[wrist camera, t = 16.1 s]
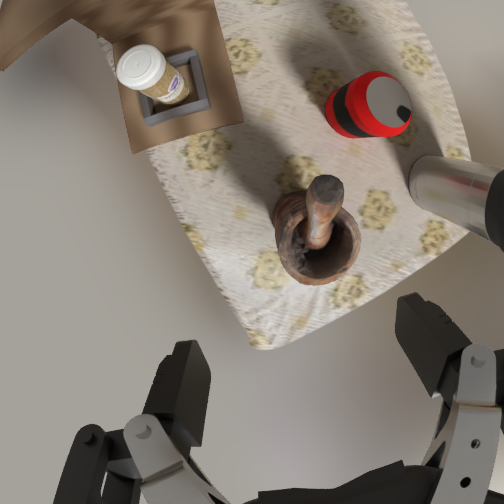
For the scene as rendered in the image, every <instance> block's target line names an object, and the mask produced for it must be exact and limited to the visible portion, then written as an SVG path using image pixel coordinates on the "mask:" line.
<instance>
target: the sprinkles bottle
mask: <svg viewBox="0 0 504 504" xmlns="http://www.w3.org/2000/svg"><path fill="white" fill-rule="evenodd" d="M116 74H117V78H118V80H119V81H120V82H121V83H122V84H123V85H125V86H127V87H129V88H131V89H134V90H139V91H140V92H141V93H143V94H145V95H147V96H149V97H151V98H153V99H155V100H157V101H161V102H162V103H163V104H164V105H167V106H175V105H178V104H180V103H182V102H183V101H184V100H185V99H186V97H187V96H188V94H189V84H188V82H187V81H186V79H184V78H183V77H182V76H181V75H180V73H179V72H178V71H177V70H176V69H175V68H174V67H173V66H171V65H170V64H169V63H168V62H167V61H166V60H165V58H164V56H163V54H162V53H161V52H160V51H159V50H158V49H157V48H156V47H154V46H152V45H148V44H142V45H137V46H134V47H132V48H131V49H129V50H128V51H126V52H125V53H124V54H123V55H122V57H121V58H120V60H119V62H118V64H117V68H116Z"/></svg>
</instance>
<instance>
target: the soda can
mask: <svg viewBox="0 0 504 504" xmlns="http://www.w3.org/2000/svg"><path fill="white" fill-rule="evenodd" d="M411 115H412V104H411V99H410V97H409V94H408V93H407V91H406V89H405V88H404V87H403V86H402V84H401V83H400V82H399V81H398V80H397V79H395V78H394V77H392V76H391V75H389V74H386V73H383V72H379V71H373V72H368V73H366V74H364V75H362V76H360V77H358V78H357V79H355V80H353V81H351V82H350V83H348V84H346V85H345V86H343V87H341V88H340V89H338V90H336V91H335V92H333V93H332V94H331V95H330V97H329V98H328V100H327V103H326V116H327V119H328V122H329V123H330V125H331V127H332V128H333V129H334V130H335V131H336V132H337V133H339V134H340V135H342V136H344V137H348V138H366V137H389V136H396V135H399V134H400V133H402V132H403V131H404V130H405V129H406V128H407V126H408V125H409V123H410V120H411Z"/></svg>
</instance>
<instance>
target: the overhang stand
mask: <svg viewBox="0 0 504 504" xmlns="http://www.w3.org/2000/svg"><path fill="white" fill-rule="evenodd" d="M71 18H73V19H75V20H76V21H78V22H79V23H81V24H83V25H84V26H86V27H87V28H89V29H91V30H92V31H94V32H95V33H97V34H98V35H100V36H101V37H103V38H104V39H106V40H107V41H109V42H110V43H112V44H113V52H114V60H115V67H116V68H117V64H118V62H119V60H120V58H121V57H122V55H123V54H124V53H125V52H126V51H128V50H129V49H131V48H132V47H134V46H137V45H142V44H148V45H152V46H154V47H156V48H157V49H158V50H159V51H160V52H161V53H162V54H163V56H164V58H165V60H166V61H167V62H168V63H169V64H170V65H171V66H173V67H174V68H175V69H176V70H177V71H178V72H179V73H180V75H181V76H182V77H183V78H184V79H186V81H187V82H188V84H189V94H188V96H187V97H186V99H185V100H184V101H183V102H182V103H180V104H178V105H175V106H167V105H164V104H163V103H162V102H161V101H157V100H155V99H153V98H151V97H149V96H147V95H145V94H143V93H141V92H140V91H139V90H134V89H131V88H129V87H127V86H125V85H123V84H122V83H121V82H120V81H119V80H118V78H117V80H118V86H119V92H120V98H121V103H122V109H123V113H124V119H125V123H126V128H127V133H128V137H129V142H130V146H131V150H132V153H133V154H135V153H138V152H140V151H143V150H146V149H149V148H152V147H155V146H158V145H161V144H164V143H167V142H170V141H173V140H176V139H179V138H183V137H186V136H190V135H193V134H197V133H200V132H204V131H208V130H211V129H215V128H219V127H223V126H227V125H232V124H236V123H241V122H244V119H243V114H242V110H241V106H240V102H239V98H238V94H237V90H236V86H235V82H234V77H233V73H232V69H231V66H230V62H229V58H228V54H227V50H226V46H225V42H224V38H223V34H222V31H221V27H220V23H219V19H218V16H217V12H216V8H215V4H214V0H3V1H2V5H1V9H0V71H4V70H5V69H6V68H7V67H8V66H10V65H11V64H12V63H13V62H14V61H15V60H16V59H17V58H18V57H19V56H21V55H22V54H23V53H24V52H25V51H27V50H28V49H29V48H30V47H31V46H33V45H34V44H35V43H36V42H38V41H39V40H40V39H42V38H43V37H44V36H46V35H47V34H48V33H50V32H51V31H53V30H54V29H56V28H57V27H58V26H60V25H61V24H63V23H64V22H66V21H67V20H69V19H71Z"/></svg>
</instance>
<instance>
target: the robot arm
mask: <svg viewBox="0 0 504 504" xmlns="http://www.w3.org/2000/svg"><path fill="white" fill-rule="evenodd" d="M409 190H410V194H411V197H412V199H413V200H414V202H415V203H416V204H417V205H418V206H419V207H421V208H422V209H425V210H427V211H429V212H432V213H434V214H436V215H438V216H440V217H442V218H444V219H447V220H449V221H451V222H453V223H455V224H457V225H459V226H461V227H463V228H465V229H467V230H469V231H471V232H473V233H475V234H477V235H479V236H481V237H483V238H485V239H486V240H488V241H490V242H492V243H494V244H496V245H497V246H499V247H500V248H501V250H502V251H503V252H504V168H500V167H496V166H491V165H486V164H481V163H475V162H471V161H465V160H459V159H453V158H446V157H440V156H432V155H425V156H423V157H421V158H419V159H418V160H417V161H416V162H415V163H414V165H413V167H412V169H411V172H410V176H409ZM395 334H396V337H397V340H398V342H399V344H400V345H401V347H402V349H403V350H404V352H405V353H406V355H407V357H408V358H409V360H410V362H411V364H412V365H413V367H414V369H415V370H416V372H417V374H418V376H419V377H420V379H421V381H422V383H423V384H424V386H425V388H426V390H427V392H428V393H429V395H430V397H431V399H432V398H434V397H436V396H438V395H440V394H441V395H442V397H443V401H442V404H441V408H440V412H439V416H438V420H437V424H436V428H435V431H434V434H433V438H432V441H431V444H430V446H429V448H428V450H427V453H426V454H425V457H424V459H423V461H422V463H421V465H410V466H404V464H403V461H402V460H400V461H398V462H395V463H392V464H389V465H387V466H384V467H381V468H378V469H375V470H372V471H369V472H367V473H365V474H363V475H361V476H359V477H357V478H355V479H354V480H352V481H350V482H348V483H346V484H343V485H341V486H339V487H337V488H334V489H305V488H291V489H282V490H272V491H260V492H258V498H257V499H254V500H251V501H248V502H245V503H244V504H504V495H503V494H500V493H497V492H494V491H491V490H488V487H489V484H490V480H491V476H492V472H493V468H494V463H495V458H496V452H497V447H498V441H499V434H500V428H501V430H502V432H503V434H504V349H501V350H496V351H493V350H492V349H491V348H489V347H488V346H486V345H484V344H472V342H470V340H469V339H468V338H467V337H466V335H465V334H464V333H463V332H462V331H461V330H460V329H459V327H458V326H457V325H456V324H455V323H454V322H452V319H451V318H450V317H449V316H448V315H446V313H445V312H444V311H443V310H442V309H441V307H440V306H438V305H436V304H434V303H432V302H430V301H426V302H425V301H424V300H423V298H422V297H421V296H420V295H419V294H418V293H416V292H414V293H411V294H408V295H404V296H401V297H399V298H398V300H397V311H396V322H395ZM210 383H211V372H210V368H209V365H208V363H207V361H206V359H205V357H204V355H203V352H202V351H201V348H200V346H199V344H198V342H197V341H196V340H188V341H179V342H177V343H176V344H175V347H174V351H173V353H172V355H167V356H166V357H165V358H164V360H163V361H162V362H161V363H160V364H159V367H158V369H157V372H156V376H155V378H154V380H153V384H152V386H151V389H150V392H149V395H148V397H147V400H146V403H145V406H144V409H143V412H142V414H141V415H138V416H135V417H134V418H132V419H131V420H130V421H129V422H128V423H127V424H126V426H125V428H124V429H121V430H115V431H110V432H105V431H104V430H103V429H102V428H101V427H100V426H98V425H95V424H89V425H86V426H84V427H82V428H81V429H80V430H79V431H78V432H77V434H76V436H75V439H74V441H73V444H72V447H71V449H70V453H69V455H68V458H67V461H66V463H65V466H64V469H63V472H62V475H61V478H60V481H59V485H58V488H57V491H56V495H55V498H54V502H53V504H139V500H140V494H141V491H142V494H143V495H144V497H145V499H146V501H147V503H148V504H231V503H230V502H229V501H228V500H227V499H226V498H225V497H224V496H223V495H222V494H221V493H220V492H219V491H218V490H217V489H216V488H215V487H214V486H213V484H212V483H211V482H210V480H209V479H208V478H207V477H206V475H205V474H204V473H203V471H202V470H201V469H200V468H199V466H198V465H197V463H196V462H195V461H194V459H193V458H192V457H191V455H190V449H191V447H195V446H197V447H201V444H202V437H203V430H204V423H205V416H206V410H207V403H208V396H209V390H210ZM105 472H107V473H108V474H107V477H106V481H105V485H104V489H103V494H102V497H101V487H102V483H103V479H104V475H105ZM142 482H143V483H142Z"/></svg>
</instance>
